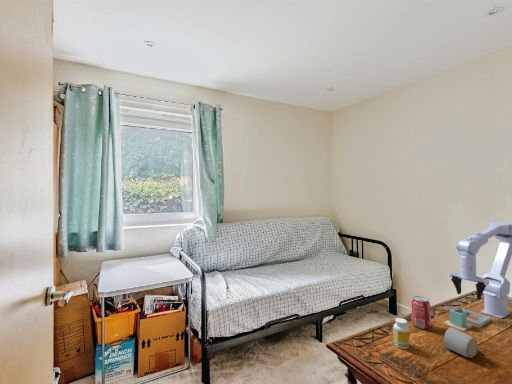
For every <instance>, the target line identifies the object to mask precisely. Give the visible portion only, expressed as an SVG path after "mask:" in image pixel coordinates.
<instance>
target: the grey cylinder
mask: <svg viewBox="0 0 512 384" xmlns="http://www.w3.org/2000/svg"><path fill="white" fill-rule="evenodd" d="M443 345H444V347H445V348H446V349H449V350H450V351H452V352H455V353H457V354H459V355H462V356H463V357H465V358H468V359H472V358H474V357H475V356H476V355H477V353H478V348H479V344H478V341H477V339H475V338H474V337H473V336H471V335H469V334H466V333H464V331H462V330H459V329H456V328H454V327H451V326H450V327H449V328H447V329H446V331H445V333H444V337H443Z"/></svg>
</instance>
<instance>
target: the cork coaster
mask: <svg viewBox="0 0 512 384" xmlns="http://www.w3.org/2000/svg"><path fill="white" fill-rule="evenodd" d="M442 324H443V325H446V326H449V327H450V328H451V327H452V328H454V329H457V330H459V331H461V332H465V331H468V330H469V329H471V328H473V327H474V325H471V324H469V323H467V324H466V325H465V326H463V327H460V326H457V325H454V324H451V323H450V322H449V319H447V320H445V321H444V322H443V323H442Z"/></svg>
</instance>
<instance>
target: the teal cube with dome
mask: <svg viewBox="0 0 512 384" xmlns="http://www.w3.org/2000/svg"><path fill="white" fill-rule="evenodd" d="M462 309H463V308H461V307H456V306H455V307H453V308H451V309H449V310H448V311H449V313H448V314H449V315H448V316H449V319H448V320H449V322H450V323H451V324H454V325H457V326H460V327H463V326H465V325H466V324H467V318H468V315H466V311H463V310H462Z"/></svg>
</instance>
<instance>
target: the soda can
mask: <svg viewBox="0 0 512 384" xmlns="http://www.w3.org/2000/svg"><path fill="white" fill-rule="evenodd" d="M431 310H432V309H431V304H430V301H429V299H428V298H427V297H426V296H422V295H421V296H420V295H414V296H413V297H412V299H411V322H412V323H411V324H412V325H414V326H415V327H416V328H418V329H421V330H426V329H429V328H430V327H431V325H432V324H431V323H432V315H431V312H432V311H431Z"/></svg>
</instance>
